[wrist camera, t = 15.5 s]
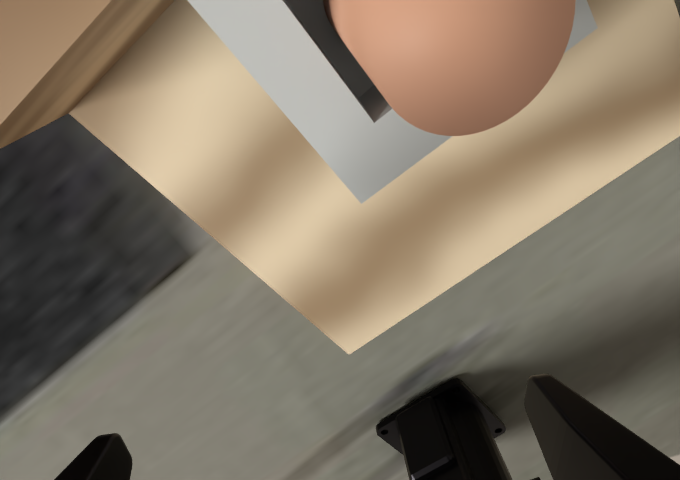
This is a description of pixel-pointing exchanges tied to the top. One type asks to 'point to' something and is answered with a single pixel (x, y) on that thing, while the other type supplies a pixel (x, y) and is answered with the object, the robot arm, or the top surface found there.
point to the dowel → (455, 55)
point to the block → (330, 86)
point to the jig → (309, 167)
